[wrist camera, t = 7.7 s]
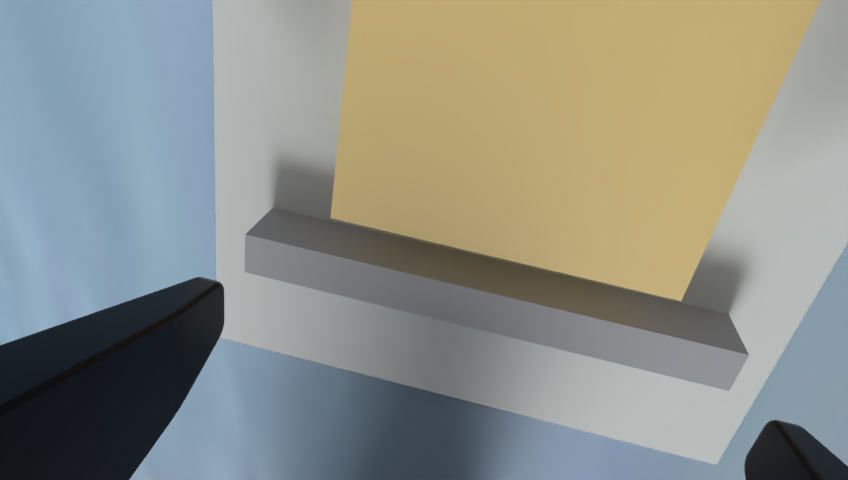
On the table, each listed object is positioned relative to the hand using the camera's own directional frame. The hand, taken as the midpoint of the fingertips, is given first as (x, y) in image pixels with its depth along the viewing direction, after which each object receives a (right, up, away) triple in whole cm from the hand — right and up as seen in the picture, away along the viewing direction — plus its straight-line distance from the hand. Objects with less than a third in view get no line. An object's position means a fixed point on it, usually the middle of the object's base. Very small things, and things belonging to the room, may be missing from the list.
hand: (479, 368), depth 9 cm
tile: (+1, +2, +3) cm, 4 cm away
